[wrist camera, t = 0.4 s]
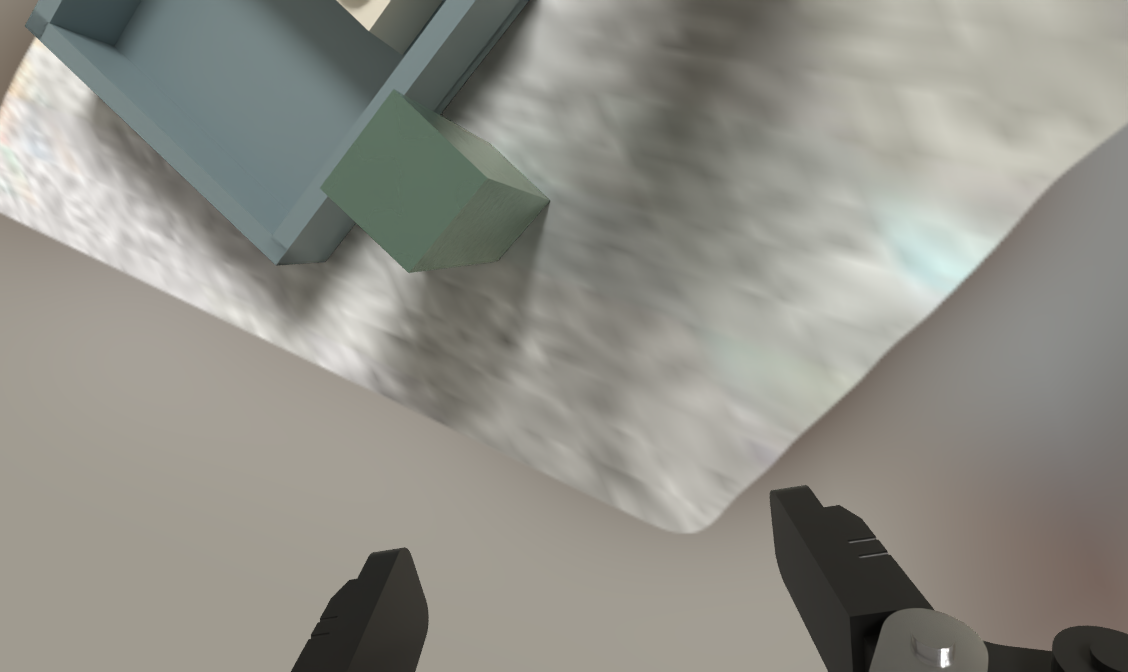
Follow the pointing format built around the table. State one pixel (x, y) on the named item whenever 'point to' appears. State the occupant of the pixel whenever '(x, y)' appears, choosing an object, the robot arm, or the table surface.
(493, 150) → the tea tin
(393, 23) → the egg carton
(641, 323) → the table surface
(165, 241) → the table surface
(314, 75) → the tray
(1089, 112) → the table surface
